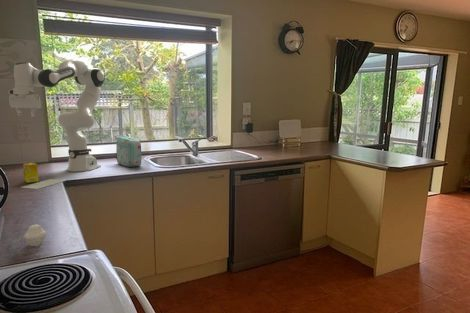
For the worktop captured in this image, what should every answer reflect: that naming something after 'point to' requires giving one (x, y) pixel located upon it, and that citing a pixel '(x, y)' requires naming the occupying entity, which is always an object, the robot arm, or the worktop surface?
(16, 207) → the worktop surface
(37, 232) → the muffin
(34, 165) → the supplement box
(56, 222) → the worktop surface
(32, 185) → the mat
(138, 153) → the lunch box
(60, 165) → the worktop surface
